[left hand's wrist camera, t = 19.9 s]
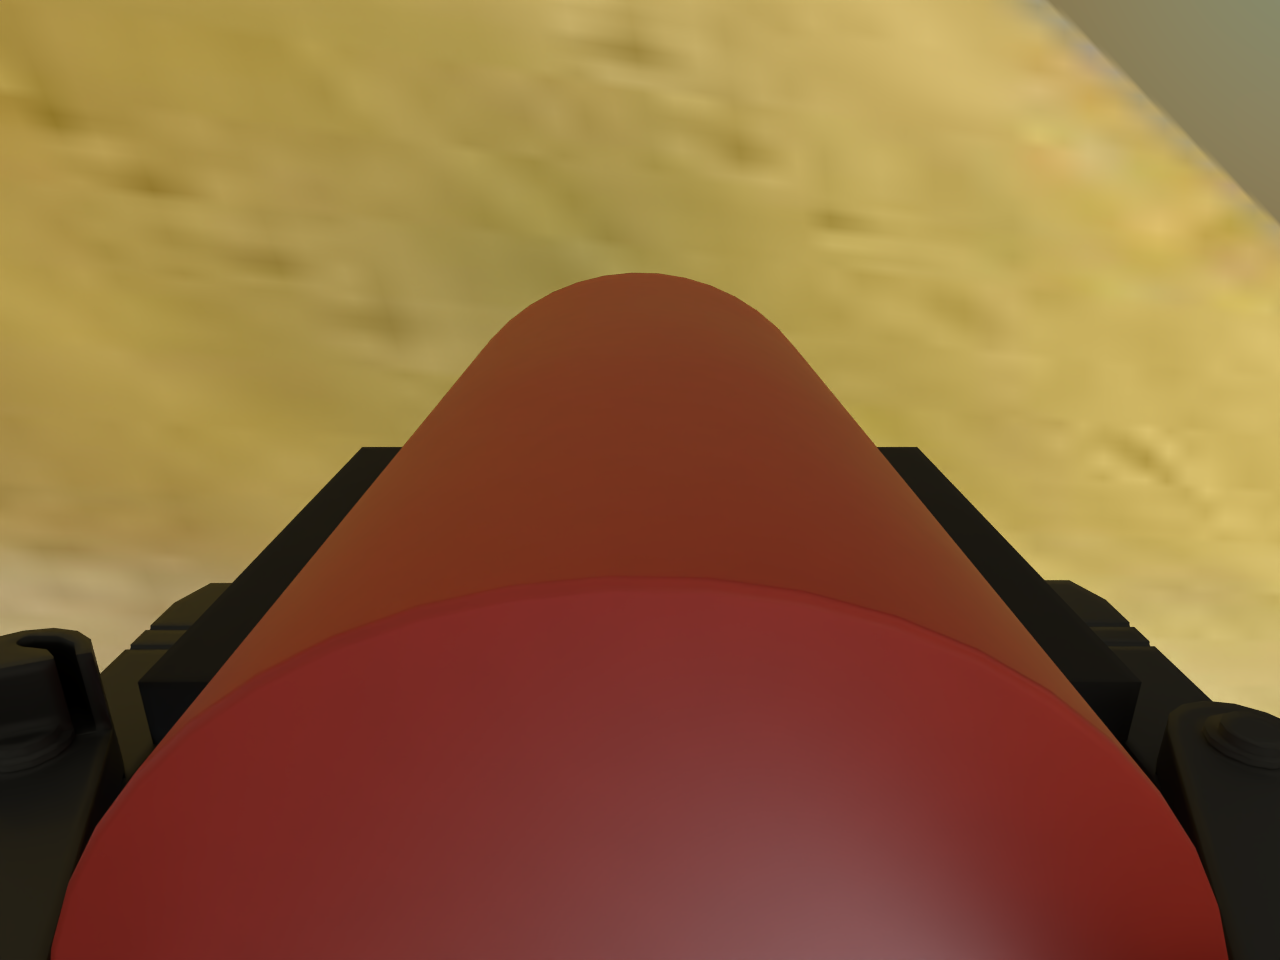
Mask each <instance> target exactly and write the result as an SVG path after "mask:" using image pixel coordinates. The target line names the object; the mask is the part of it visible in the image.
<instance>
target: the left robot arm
mask: <svg viewBox="0 0 1280 960" xmlns="http://www.w3.org/2000/svg"><path fill="white" fill-rule="evenodd" d="M401 448H402V447H362V448H361V449H360V450H359V451H358V452H357V453H356V454H355V455H354V456H353V457H352V458H351V459H350V461H349V462H348V463H347V464H346V465H345V466H344V467H343V468H342V469H341V470H340V471H339V472H338V473H337V474H336V475H335V476H334V477H333V478H332V479H331V480H330V481H329V482H328V483H327V485H326V486H325V487H324V488H323V489H322V490H321V491H320V492H319V493H318V494H317V495H316V496H315V497H314V498H313V499H312V500H311V501H310V502H309V503H308V504H307V505H306V506H305V508H304V509H303V510H302V511H301V512H300V513H299V514H298V515H297V516H296V517H295V518H294V519H293V520H292V521H291V522H290V523H289V524H288V525H287V526H286V527H285V528H284V529H283V531H282V532H281V533H280V534H279V535H278V536H277V537H276V538H275V539H274V540H273V541H272V542H271V543H270V544H269V545H268V546H267V547H266V548H265V549H264V550H263V551H262V552H261V553H260V555H259V556H258V557H257V558H256V559H255V560H254V561H253V562H252V563H251V564H250V565H249V566H248V567H247V568H246V569H245V570H244V571H243V572H242V573H241V574H240V575H239V576H238V578H237V579H236V580H235V581H234V582H233V583H210V584H208V585H206V586H205V587H203V588H201V589H199V590H197V591H195V592H193V593H192V594H190V595H188V596H186V597H184V598H182V599H180V600H179V601H177V602H175V603H174V604H173V605H172V606H171V607H169V608H168V609H167V610H166V611H165V612H164V613H163V614H162V615H161V616H160V617H159V618H158V619H157V620H156V621H155V622H154V623H153V624H152V625H151V629H150V630H145V631H144V632H143V633H142V634H141V635H140V636H139V637H138V638H137V639H136V640H135V641H134V642H133V643H132V644H131V648H130V650H125V651H124V652H122V653H121V654H120V655H119V656H118V657H117V658H116V659H115V660H114V661H113V662H112V663H111V664H110V665H109V666H108V667H107V668H106V669H105V670H104V671H103V672H102V673H101V674H100V672H99V668H98V665H97V661H96V657H95V653H94V650H93V646H92V642H91V639H89V638H88V637H86V636H85V635H83V634H81V633H80V632H78V631H74V630H66V629H58V628H49V629H37V630H26V631H20V632H16V633H12V634H8V635H3V636H0V960H51V947H52V943H53V939H54V935H55V931H56V928H57V924H58V920H59V916H60V913H61V909H62V905H63V901H64V897H65V894H66V890H67V886H68V883H69V881H70V879H71V877H72V874H73V872H74V870H75V868H76V866H77V864H78V862H79V860H80V858H81V856H82V854H83V852H84V850H85V848H86V846H87V844H88V841H89V839H90V837H91V835H92V833H93V831H94V829H95V827H96V825H97V824H98V823H99V821H100V820H101V819H102V817H103V816H104V815H105V813H106V812H107V810H108V809H109V808H110V806H111V805H112V804H113V802H114V801H115V800H116V798H117V797H118V795H119V794H120V793H121V791H122V790H123V789H124V787H125V786H126V785H127V783H128V782H129V780H130V779H131V778H132V776H133V775H134V774H135V772H136V771H137V770H138V769H139V767H140V766H141V765H142V764H143V762H144V761H145V760H146V759H147V758H148V756H149V755H150V754H151V753H152V752H153V750H154V749H155V748H156V747H157V745H158V744H159V743H160V742H161V741H162V739H163V738H164V737H165V736H166V734H167V733H168V732H169V731H170V730H171V728H172V727H173V726H174V725H175V724H176V722H177V721H178V720H179V719H180V717H181V716H182V715H183V714H184V713H185V711H186V710H187V709H188V708H189V706H190V705H191V704H192V703H193V702H194V700H195V699H196V698H197V697H198V696H199V694H200V693H201V692H202V691H203V689H204V688H205V687H206V686H207V685H208V683H209V682H210V681H211V680H212V678H213V677H214V676H215V675H216V674H217V672H218V671H219V670H220V669H221V668H222V666H223V665H224V664H225V663H226V661H227V660H228V659H229V658H230V657H231V655H232V654H233V653H234V652H235V650H236V649H237V648H238V647H239V646H240V644H241V643H242V642H243V641H244V640H245V638H246V637H247V636H248V635H249V633H250V632H251V631H252V630H253V629H254V627H255V626H256V625H257V624H258V622H259V621H260V620H261V619H262V618H263V616H264V615H265V614H266V613H267V612H268V610H269V609H270V608H271V607H272V605H273V604H274V603H275V602H276V601H277V599H278V598H279V597H280V596H281V594H282V593H283V592H284V591H285V590H286V588H287V587H288V586H289V585H290V584H291V582H292V581H293V580H294V579H295V577H296V576H297V575H298V574H299V573H300V571H301V570H302V569H303V568H304V566H305V565H306V564H307V563H308V562H309V560H310V559H311V558H312V557H313V556H314V554H315V553H316V552H317V551H318V549H319V548H320V547H321V546H322V545H323V543H324V542H325V541H326V540H327V538H328V537H329V536H330V535H331V534H332V532H333V531H334V530H335V529H336V528H337V526H338V525H339V524H340V523H341V521H342V520H343V519H344V518H345V517H346V515H347V514H348V513H349V512H350V510H351V509H352V508H353V507H354V506H355V504H356V503H357V502H358V501H359V500H360V498H361V497H362V496H363V495H364V493H365V492H366V491H367V490H368V489H369V487H370V486H371V485H372V484H373V482H374V481H375V480H376V479H377V478H378V476H379V475H380V474H381V473H382V472H383V470H384V469H385V468H386V467H387V465H388V464H389V463H390V462H391V461H392V459H393V458H394V457H395V456H396V454H397V453H398V452H399V451H400V450H401ZM877 448H878V449H879V451H880V452H881V453H882V454H883V455H884V457H885V458H886V459H887V460H888V461H889V463H890V464H891V465H892V466H893V468H894V469H895V470H896V471H897V472H898V474H899V475H900V476H901V477H902V479H903V480H904V481H905V482H906V483H907V485H908V486H909V487H910V488H911V489H912V491H913V492H914V493H915V494H916V496H917V497H918V498H919V499H920V500H921V502H922V503H923V504H924V505H925V507H926V508H927V509H928V510H929V511H930V513H931V514H932V515H933V516H934V517H935V519H936V520H937V521H938V522H939V524H940V525H941V526H942V527H943V528H944V530H945V531H946V532H947V533H948V534H949V536H950V537H951V538H952V539H953V541H954V542H955V543H956V544H957V545H958V547H959V548H960V549H961V550H962V552H963V553H964V554H965V555H966V556H967V558H968V559H969V560H970V561H971V562H972V564H973V565H974V566H975V567H976V569H977V570H978V571H979V572H980V573H981V575H982V576H983V577H984V578H985V580H986V581H987V582H988V583H989V584H990V586H991V587H992V588H993V589H994V590H995V592H996V593H997V594H998V595H999V597H1000V598H1001V599H1002V600H1003V601H1004V603H1005V604H1006V605H1007V606H1008V608H1009V609H1010V610H1011V611H1012V612H1013V614H1014V615H1015V616H1016V617H1017V618H1018V620H1019V621H1020V622H1021V623H1022V625H1023V626H1024V627H1025V628H1026V629H1027V631H1028V632H1029V633H1030V634H1031V636H1032V637H1033V638H1034V639H1035V640H1036V642H1037V643H1038V644H1039V645H1040V646H1041V648H1042V649H1043V650H1044V651H1045V653H1046V654H1047V655H1048V656H1049V657H1050V659H1051V660H1052V661H1053V662H1054V663H1055V665H1056V666H1057V667H1058V668H1059V670H1060V671H1061V672H1062V673H1063V674H1064V676H1065V677H1066V678H1067V679H1068V681H1069V682H1070V683H1071V684H1072V685H1073V687H1074V688H1075V689H1076V690H1077V691H1078V693H1079V694H1080V695H1081V696H1082V698H1083V699H1084V700H1085V701H1086V702H1087V704H1088V705H1089V706H1090V707H1091V709H1092V710H1093V711H1094V712H1095V713H1096V715H1097V716H1098V717H1099V718H1100V719H1101V721H1102V722H1103V723H1104V724H1105V726H1106V727H1107V728H1108V729H1109V730H1110V732H1111V733H1112V734H1113V735H1114V737H1115V738H1116V739H1117V740H1118V741H1119V743H1120V744H1121V745H1122V746H1123V747H1124V749H1125V750H1126V751H1127V752H1128V754H1129V755H1130V756H1131V757H1132V758H1133V760H1134V761H1135V762H1136V763H1137V765H1138V766H1139V767H1140V768H1141V769H1142V771H1143V772H1144V773H1145V774H1146V775H1147V777H1148V778H1149V779H1150V780H1151V782H1152V783H1153V784H1154V785H1155V786H1156V788H1157V789H1158V790H1159V791H1160V793H1161V794H1162V796H1163V797H1164V799H1165V801H1166V802H1167V804H1168V805H1169V807H1170V808H1171V810H1172V812H1173V813H1174V815H1175V816H1176V818H1177V819H1178V821H1179V823H1180V824H1181V826H1182V827H1183V829H1184V831H1185V832H1186V834H1187V835H1188V837H1189V838H1190V840H1191V842H1192V843H1193V845H1194V846H1195V848H1196V850H1197V853H1198V855H1199V858H1200V861H1201V863H1202V866H1203V868H1204V871H1205V873H1206V876H1207V878H1208V881H1209V883H1210V886H1211V888H1212V891H1213V893H1214V896H1215V898H1216V901H1217V903H1218V907H1219V911H1220V916H1221V921H1222V927H1223V932H1224V938H1225V943H1226V948H1227V954H1228V959H1229V960H1280V718H1277V717H1275V716H1273V715H1271V714H1269V713H1266V712H1262V711H1259V710H1255V709H1252V708H1248V707H1244V706H1241V705H1237V704H1232V703H1222V702H1213V701H1212V700H1211V699H1209V698H1208V697H1207V696H1206V695H1205V694H1204V693H1203V692H1202V691H1201V690H1200V689H1199V688H1198V687H1197V686H1196V685H1195V684H1194V683H1193V682H1192V681H1191V680H1189V679H1188V678H1187V677H1186V676H1185V675H1184V674H1183V673H1182V672H1181V671H1180V670H1179V669H1178V668H1177V667H1176V666H1175V665H1174V664H1173V663H1172V662H1171V661H1169V660H1168V659H1167V658H1166V657H1165V656H1164V655H1163V654H1162V653H1161V652H1160V651H1159V650H1158V649H1157V648H1156V647H1155V646H1150V644H1149V641H1148V640H1147V639H1146V638H1145V637H1144V636H1143V635H1142V634H1141V633H1140V632H1139V631H1138V630H1137V629H1136V628H1135V627H1130V625H1129V622H1128V621H1127V620H1126V619H1125V618H1124V617H1123V616H1122V615H1121V614H1120V613H1119V612H1118V611H1117V610H1116V609H1115V608H1114V607H1113V606H1112V605H1111V604H1109V603H1108V602H1107V601H1106V600H1105V599H1103V598H1101V597H1099V596H1098V595H1096V594H1094V593H1092V592H1090V591H1088V590H1086V589H1085V588H1083V587H1081V586H1079V585H1077V584H1075V583H1073V582H1071V581H1070V580H1044V579H1043V578H1042V577H1041V576H1040V575H1039V574H1038V573H1037V572H1036V571H1035V570H1034V569H1033V568H1032V567H1031V566H1030V565H1029V564H1028V562H1027V561H1026V560H1025V559H1024V558H1023V557H1022V556H1021V555H1020V554H1019V553H1018V552H1017V551H1016V550H1015V549H1014V548H1013V547H1012V546H1011V545H1010V544H1009V543H1008V542H1007V541H1006V540H1005V538H1004V537H1003V536H1002V535H1001V534H1000V533H999V532H998V531H997V530H996V529H995V528H994V527H993V526H992V525H991V524H990V523H989V522H988V521H987V520H986V519H985V518H984V517H983V515H982V514H981V513H980V512H979V511H978V510H977V509H976V508H975V507H974V506H973V505H972V504H971V503H970V502H969V501H968V500H967V499H966V498H965V497H964V496H963V495H962V494H961V492H960V491H959V490H958V489H957V488H956V487H955V486H954V485H953V484H952V483H951V482H950V481H949V480H948V479H947V478H946V477H945V476H944V475H943V474H942V473H941V472H940V471H939V469H938V468H937V467H936V466H935V465H934V464H933V463H932V462H931V461H930V460H929V459H928V458H927V457H926V456H925V455H924V454H923V453H922V452H921V451H920V450H919V449H918V448H917V447H877Z"/></svg>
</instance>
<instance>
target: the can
mask: <svg viewBox="0 0 1280 960" xmlns="http://www.w3.org/2000/svg"><path fill="white" fill-rule="evenodd" d="M51 960H1229V959H1228V954H1227V948H1226V943H1225V938H1224V932H1223V927H1222V921H1221V916H1220V911H1219V907H1218V903H1217V901H1216V898H1215V896H1214V893H1213V891H1212V888H1211V886H1210V883H1209V881H1208V878H1207V876H1206V873H1205V871H1204V868H1203V866H1202V863H1201V861H1200V858H1199V855H1198V853H1197V850H1196V848H1195V846H1194V845H1193V843H1192V842H1191V840H1190V838H1189V837H1188V835H1187V834H1186V832H1185V831H1184V829H1183V827H1182V826H1181V824H1180V823H1179V821H1178V819H1177V818H1176V816H1175V815H1174V813H1173V812H1172V810H1171V808H1170V807H1169V805H1168V804H1167V802H1166V801H1165V799H1164V797H1163V796H1162V794H1161V793H1160V791H1159V790H1158V789H1157V788H1156V786H1155V785H1154V784H1153V783H1152V782H1151V780H1150V779H1149V778H1148V777H1147V775H1146V774H1145V773H1144V772H1143V771H1142V769H1141V768H1140V767H1139V766H1138V765H1137V763H1136V762H1135V761H1134V760H1133V758H1132V757H1131V756H1130V755H1129V754H1128V752H1127V751H1126V750H1125V749H1124V747H1123V746H1122V745H1121V744H1120V743H1119V741H1118V740H1117V739H1116V738H1115V737H1114V735H1113V734H1112V733H1111V732H1110V730H1109V729H1108V728H1107V727H1106V726H1105V724H1104V723H1103V722H1102V721H1101V719H1100V718H1099V717H1098V716H1097V715H1096V713H1095V712H1094V711H1093V710H1092V709H1091V707H1090V706H1089V705H1088V704H1087V702H1086V701H1085V700H1084V699H1083V698H1082V696H1081V695H1080V694H1079V693H1078V691H1077V690H1076V689H1075V688H1074V687H1073V685H1072V684H1071V683H1070V682H1069V681H1068V679H1067V678H1066V677H1065V676H1064V674H1063V673H1062V672H1061V671H1060V670H1059V668H1058V667H1057V666H1056V665H1055V663H1054V662H1053V661H1052V660H1051V659H1050V657H1049V656H1048V655H1047V654H1046V653H1045V651H1044V650H1043V649H1042V648H1041V646H1040V645H1039V644H1038V643H1037V642H1036V640H1035V639H1034V638H1033V637H1032V636H1031V634H1030V633H1029V632H1028V631H1027V629H1026V628H1025V627H1024V626H1023V625H1022V623H1021V622H1020V621H1019V620H1018V618H1017V617H1016V616H1015V615H1014V614H1013V612H1012V611H1011V610H1010V609H1009V608H1008V606H1007V605H1006V604H1005V603H1004V601H1003V600H1002V599H1001V598H1000V597H999V595H998V594H997V593H996V592H995V590H994V589H993V588H992V587H991V586H990V584H989V583H988V582H987V581H986V580H985V578H984V577H983V576H982V575H981V573H980V572H979V571H978V570H977V569H976V567H975V566H974V565H973V564H972V562H971V561H970V560H969V559H968V558H967V556H966V555H965V554H964V553H963V552H962V550H961V549H960V548H959V547H958V545H957V544H956V543H955V542H954V541H953V539H952V538H951V537H950V536H949V534H948V533H947V532H946V531H945V530H944V528H943V527H942V526H941V525H940V524H939V522H938V521H937V520H936V519H935V517H934V516H933V515H932V514H931V513H930V511H929V510H928V509H927V508H926V507H925V505H924V504H923V503H922V502H921V500H920V499H919V498H918V497H917V496H916V494H915V493H914V492H913V491H912V489H911V488H910V487H909V486H908V485H907V483H906V482H905V481H904V480H903V479H902V477H901V476H900V475H899V474H898V472H897V471H896V470H895V469H894V468H893V466H892V465H891V464H890V463H889V461H888V460H887V459H886V458H885V457H884V455H883V454H882V453H881V452H880V451H879V449H878V448H877V447H876V446H875V444H874V443H873V442H872V441H871V440H870V438H869V437H868V436H867V435H866V433H865V432H864V431H863V430H862V429H861V427H860V426H859V425H858V424H857V423H856V421H855V420H854V419H853V418H852V416H851V415H850V414H849V413H848V412H847V410H846V409H845V408H844V407H843V405H842V404H841V403H840V402H839V401H838V399H837V398H836V397H835V396H834V395H833V393H832V392H831V391H830V390H829V388H828V387H827V386H826V385H825V384H824V382H823V381H822V380H821V379H820V377H819V376H818V375H817V374H816V373H815V371H814V370H813V369H812V368H811V367H810V365H809V364H808V363H807V362H806V360H805V359H804V358H803V357H802V356H801V354H800V353H799V352H798V351H797V350H796V348H795V347H794V346H793V345H792V344H791V343H790V341H789V340H788V339H787V338H786V337H785V336H784V335H783V334H782V332H781V331H780V330H779V329H778V328H777V327H776V326H775V325H773V324H772V323H771V322H770V321H769V320H768V319H766V318H765V317H764V316H763V315H762V314H760V313H759V312H758V311H757V310H755V309H754V308H752V307H751V306H749V305H747V304H746V303H744V302H743V301H741V300H739V299H738V298H736V297H735V296H732V295H730V294H728V293H726V292H724V291H721V290H719V289H717V288H715V287H713V286H710V285H707V284H704V283H700V282H697V281H694V280H691V279H687V278H683V277H677V276H671V275H664V274H656V273H625V274H616V275H607V276H601V277H597V278H593V279H589V280H585V281H581V282H578V283H575V284H572V285H570V286H567V287H565V288H562V289H560V290H557V291H555V292H553V293H551V294H549V295H547V296H545V297H544V298H542V299H540V300H538V301H537V302H535V303H533V304H531V305H530V306H528V307H527V308H526V309H524V310H523V311H522V312H520V313H519V314H518V315H516V316H515V317H514V318H513V319H511V320H510V321H509V322H508V323H507V324H506V325H505V326H504V327H503V328H502V329H501V330H500V331H499V332H498V333H497V334H496V335H495V336H494V337H493V338H492V339H491V340H490V341H489V342H488V344H487V345H486V346H485V347H484V349H483V350H482V351H481V352H480V353H479V355H478V356H477V357H476V358H475V360H474V361H473V362H472V363H471V364H470V366H469V367H468V368H467V369H466V370H465V372H464V373H463V374H462V375H461V377H460V378H459V379H458V380H457V381H456V383H455V384H454V385H453V386H452V388H451V389H450V390H449V391H448V392H447V394H446V395H445V396H444V397H443V398H442V400H441V401H440V402H439V403H438V405H437V406H436V407H435V408H434V409H433V411H432V412H431V413H430V414H429V416H428V417H427V418H426V419H425V420H424V422H423V423H422V424H421V425H420V426H419V428H418V429H417V430H416V431H415V433H414V434H413V435H412V436H411V437H410V439H409V440H408V441H407V442H406V444H405V445H404V446H403V447H402V448H401V450H400V451H399V452H398V453H397V454H396V456H395V457H394V458H393V459H392V461H391V462H390V463H389V464H388V465H387V467H386V468H385V469H384V470H383V472H382V473H381V474H380V475H379V476H378V478H377V479H376V480H375V481H374V482H373V484H372V485H371V486H370V487H369V489H368V490H367V491H366V492H365V493H364V495H363V496H362V497H361V498H360V500H359V501H358V502H357V503H356V504H355V506H354V507H353V508H352V509H351V510H350V512H349V513H348V514H347V515H346V517H345V518H344V519H343V520H342V521H341V523H340V524H339V525H338V526H337V528H336V529H335V530H334V531H333V532H332V534H331V535H330V536H329V537H328V538H327V540H326V541H325V542H324V543H323V545H322V546H321V547H320V548H319V549H318V551H317V552H316V553H315V554H314V556H313V557H312V558H311V559H310V560H309V562H308V563H307V564H306V565H305V566H304V568H303V569H302V570H301V571H300V573H299V574H298V575H297V576H296V577H295V579H294V580H293V581H292V582H291V584H290V585H289V586H288V587H287V588H286V590H285V591H284V592H283V593H282V594H281V596H280V597H279V598H278V599H277V601H276V602H275V603H274V604H273V605H272V607H271V608H270V609H269V610H268V612H267V613H266V614H265V615H264V616H263V618H262V619H261V620H260V621H259V622H258V624H257V625H256V626H255V627H254V629H253V630H252V631H251V632H250V633H249V635H248V636H247V637H246V638H245V640H244V641H243V642H242V643H241V644H240V646H239V647H238V648H237V649H236V650H235V652H234V653H233V654H232V655H231V657H230V658H229V659H228V660H227V661H226V663H225V664H224V665H223V666H222V668H221V669H220V670H219V671H218V672H217V674H216V675H215V676H214V677H213V678H212V680H211V681H210V682H209V683H208V685H207V686H206V687H205V688H204V689H203V691H202V692H201V693H200V694H199V696H198V697H197V698H196V699H195V700H194V702H193V703H192V704H191V705H190V706H189V708H188V709H187V710H186V711H185V713H184V714H183V715H182V716H181V717H180V719H179V720H178V721H177V722H176V724H175V725H174V726H173V727H172V728H171V730H170V731H169V732H168V733H167V734H166V736H165V737H164V738H163V739H162V741H161V742H160V743H159V744H158V745H157V747H156V748H155V749H154V750H153V752H152V753H151V754H150V755H149V756H148V758H147V759H146V760H145V761H144V762H143V764H142V765H141V766H140V767H139V769H138V770H137V771H136V772H135V774H134V775H133V776H132V778H131V779H130V780H129V782H128V783H127V785H126V786H125V787H124V789H123V790H122V791H121V793H120V794H119V795H118V797H117V798H116V800H115V801H114V802H113V804H112V805H111V806H110V808H109V809H108V810H107V812H106V813H105V815H104V816H103V817H102V819H101V820H100V821H99V823H98V824H97V825H96V827H95V829H94V831H93V833H92V835H91V837H90V839H89V841H88V844H87V846H86V848H85V850H84V852H83V854H82V856H81V858H80V860H79V862H78V864H77V866H76V868H75V870H74V872H73V874H72V877H71V879H70V881H69V883H68V886H67V890H66V894H65V897H64V901H63V905H62V909H61V913H60V916H59V920H58V924H57V928H56V931H55V935H54V939H53V943H52V947H51Z"/></svg>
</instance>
